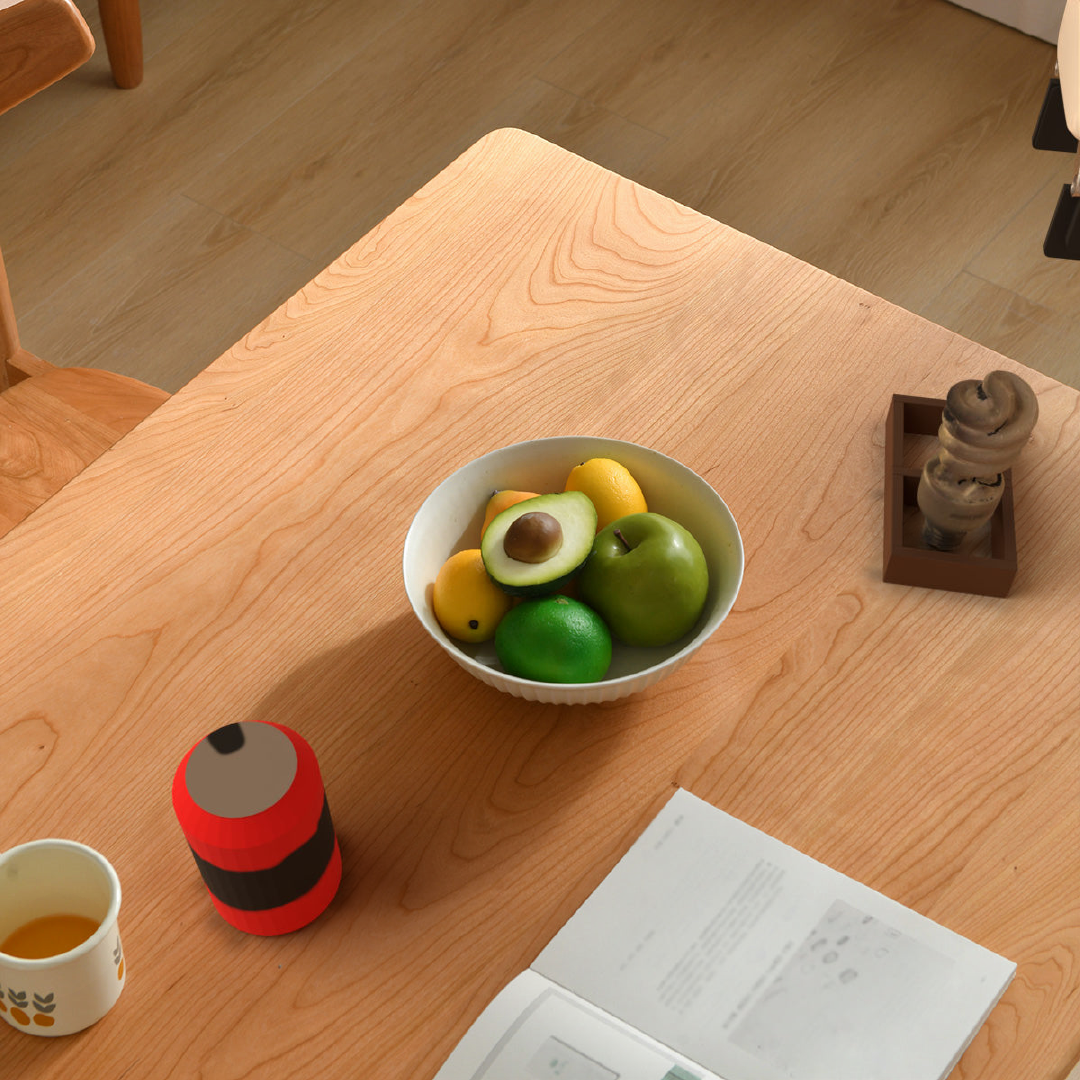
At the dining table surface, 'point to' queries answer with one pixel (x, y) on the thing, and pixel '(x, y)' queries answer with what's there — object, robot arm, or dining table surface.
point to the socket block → (903, 489)
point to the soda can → (259, 826)
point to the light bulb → (974, 454)
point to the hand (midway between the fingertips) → (1066, 200)
